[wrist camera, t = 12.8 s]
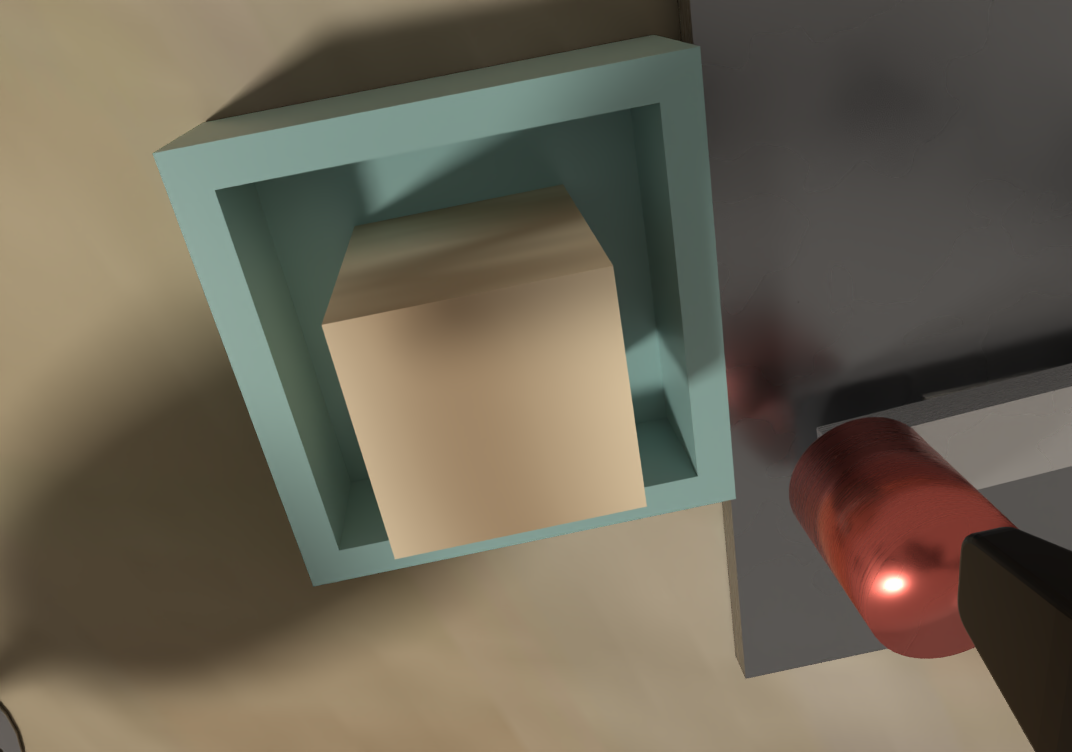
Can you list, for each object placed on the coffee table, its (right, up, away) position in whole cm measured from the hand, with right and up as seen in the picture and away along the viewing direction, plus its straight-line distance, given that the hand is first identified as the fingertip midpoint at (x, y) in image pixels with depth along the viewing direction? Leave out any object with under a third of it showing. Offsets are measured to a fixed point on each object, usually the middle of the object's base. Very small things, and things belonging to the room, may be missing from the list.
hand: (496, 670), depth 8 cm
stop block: (-1, +4, +9) cm, 10 cm away
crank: (+11, +2, +11) cm, 15 cm away
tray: (-1, +4, +9) cm, 10 cm away
